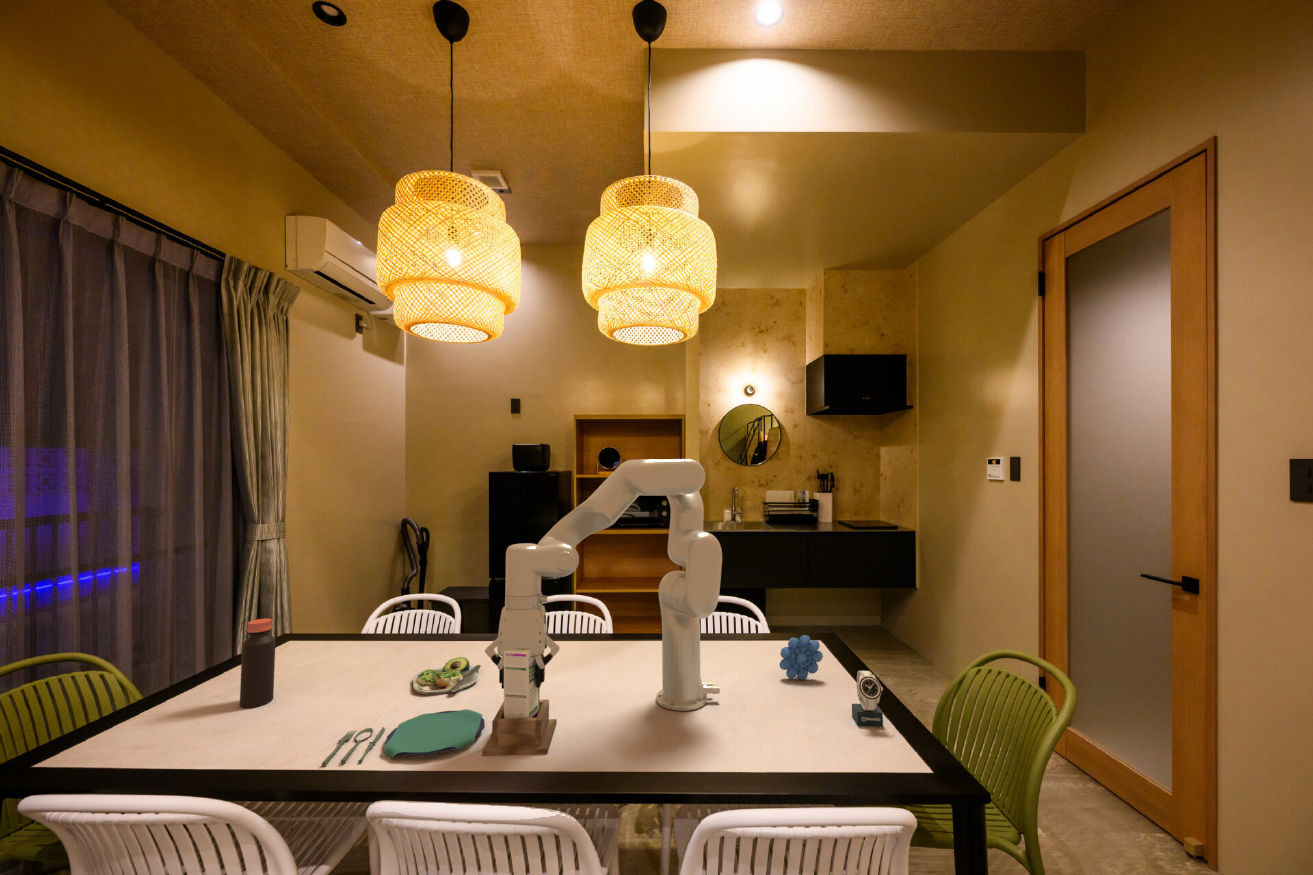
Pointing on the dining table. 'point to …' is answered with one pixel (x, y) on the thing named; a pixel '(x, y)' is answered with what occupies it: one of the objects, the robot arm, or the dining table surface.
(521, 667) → the syrup box
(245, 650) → the bottle
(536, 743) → the walnut holder
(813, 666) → the blue knobbly flower shape
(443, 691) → the avocado toast plate
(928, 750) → the dining table surface
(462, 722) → the cutlery set
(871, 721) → the watch
